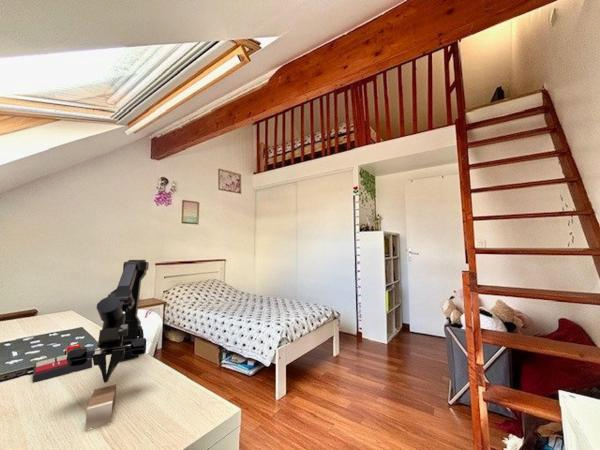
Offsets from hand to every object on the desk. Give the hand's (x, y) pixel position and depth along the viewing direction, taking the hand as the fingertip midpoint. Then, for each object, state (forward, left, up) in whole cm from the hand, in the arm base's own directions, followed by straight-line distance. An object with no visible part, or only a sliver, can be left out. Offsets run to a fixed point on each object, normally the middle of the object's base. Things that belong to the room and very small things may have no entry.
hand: (105, 381), depth 70 cm
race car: (+7, -50, -8) cm, 52 cm away
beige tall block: (0, -2, -5) cm, 5 cm away
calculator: (+10, -37, -8) cm, 39 cm away
